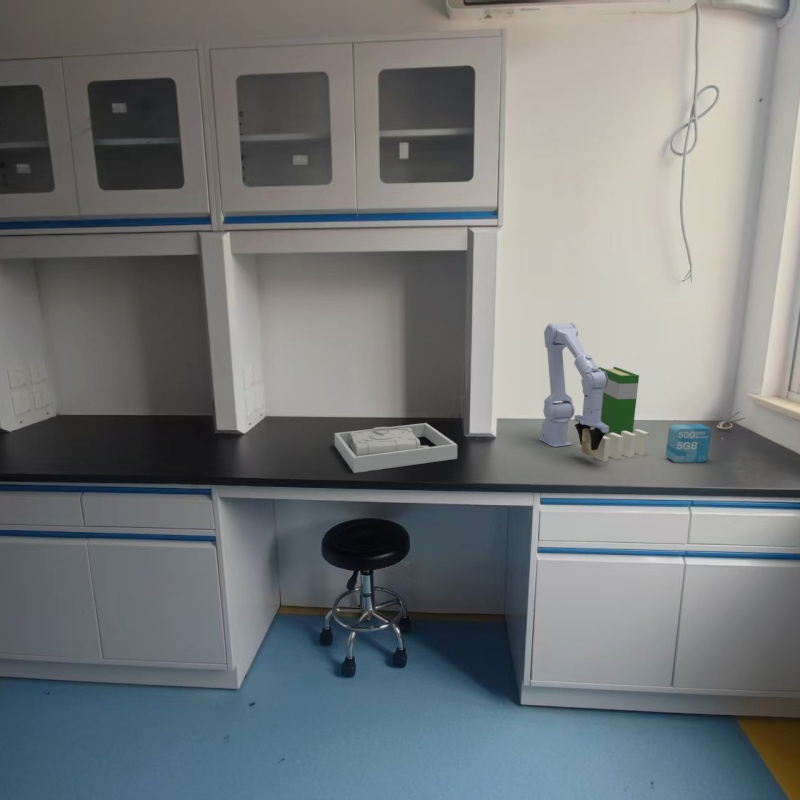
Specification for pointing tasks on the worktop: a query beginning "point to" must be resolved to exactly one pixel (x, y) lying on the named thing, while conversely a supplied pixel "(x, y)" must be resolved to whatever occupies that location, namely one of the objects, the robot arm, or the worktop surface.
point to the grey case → (383, 441)
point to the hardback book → (619, 400)
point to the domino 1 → (587, 443)
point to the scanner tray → (440, 452)
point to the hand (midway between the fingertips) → (588, 447)
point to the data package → (688, 443)
